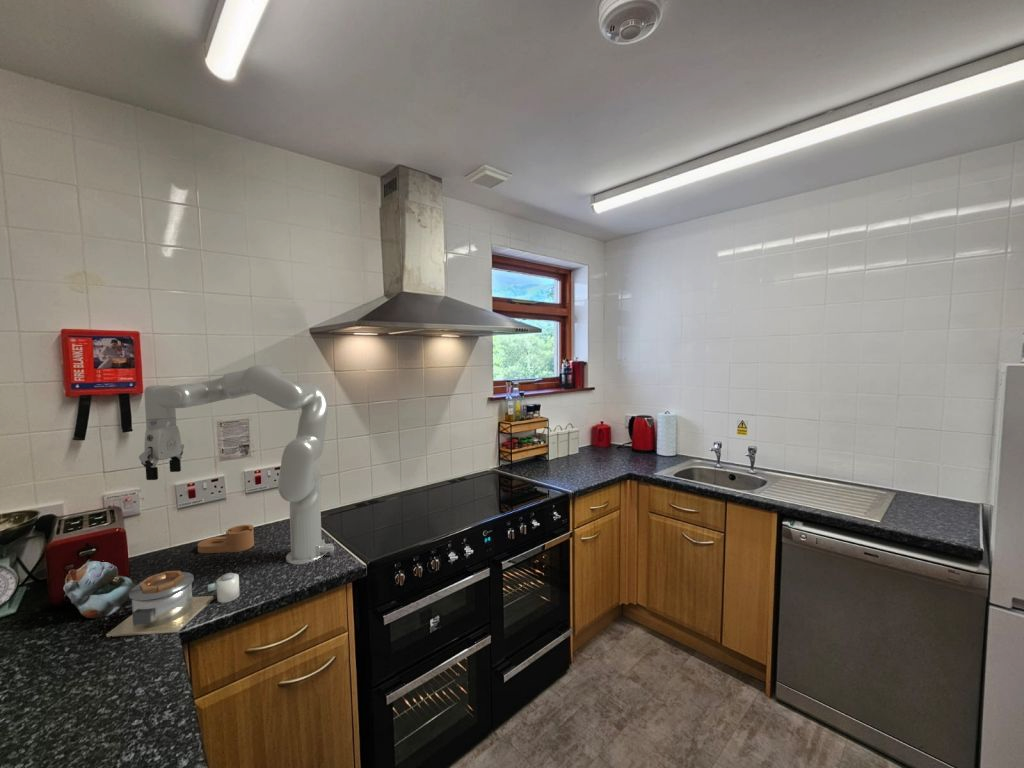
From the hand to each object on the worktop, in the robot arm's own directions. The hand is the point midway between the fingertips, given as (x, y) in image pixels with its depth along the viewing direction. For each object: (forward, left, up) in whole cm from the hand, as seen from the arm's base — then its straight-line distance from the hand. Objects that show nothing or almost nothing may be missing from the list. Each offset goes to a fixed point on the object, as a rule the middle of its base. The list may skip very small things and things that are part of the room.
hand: (164, 475), depth 138 cm
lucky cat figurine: (+1, +25, -30) cm, 39 cm away
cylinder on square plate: (-19, +31, -30) cm, 47 cm away
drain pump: (-31, +23, -30) cm, 49 cm away
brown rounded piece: (-12, -12, -31) cm, 35 cm away
